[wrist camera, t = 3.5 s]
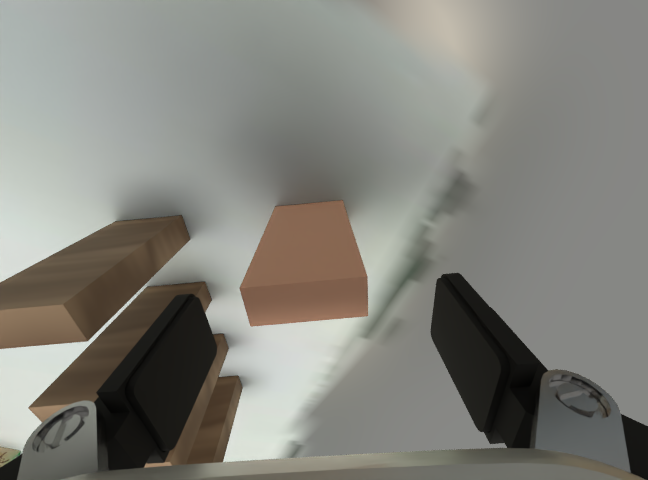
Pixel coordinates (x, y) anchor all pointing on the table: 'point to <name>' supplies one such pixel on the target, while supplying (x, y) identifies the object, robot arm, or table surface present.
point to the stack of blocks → (7, 455)
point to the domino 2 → (111, 348)
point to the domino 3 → (197, 410)
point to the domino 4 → (217, 422)
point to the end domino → (306, 268)
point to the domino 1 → (86, 282)
